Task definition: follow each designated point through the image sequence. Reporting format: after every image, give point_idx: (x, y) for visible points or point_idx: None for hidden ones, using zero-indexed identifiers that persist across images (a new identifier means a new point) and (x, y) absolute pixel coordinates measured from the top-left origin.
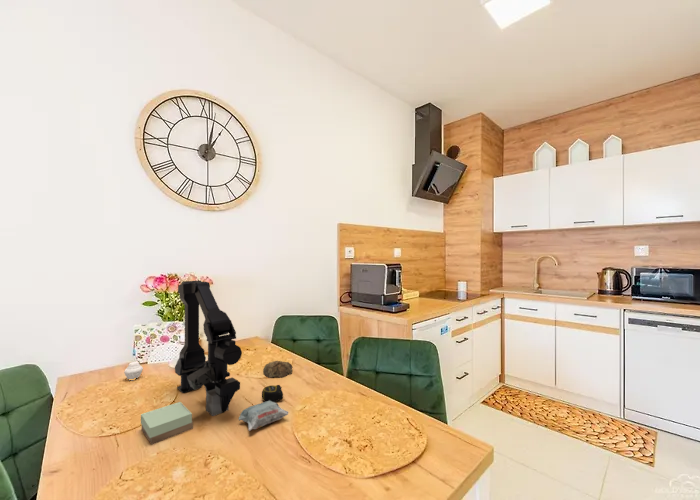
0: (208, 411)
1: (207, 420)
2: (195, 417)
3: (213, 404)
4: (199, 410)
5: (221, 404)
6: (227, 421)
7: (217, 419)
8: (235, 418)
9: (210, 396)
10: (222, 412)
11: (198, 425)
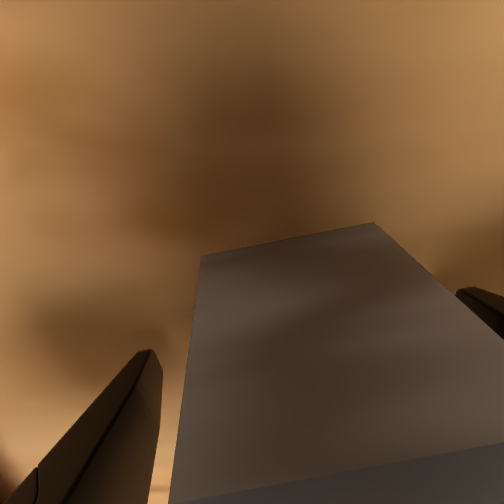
0: (309, 242)
1: (134, 199)
2: (296, 87)
3: (191, 356)
4: (437, 164)
5: (66, 444)
6: (25, 341)
7: (107, 283)
8: (56, 391)
9: (296, 437)
10: (138, 352)
11: (48, 81)
